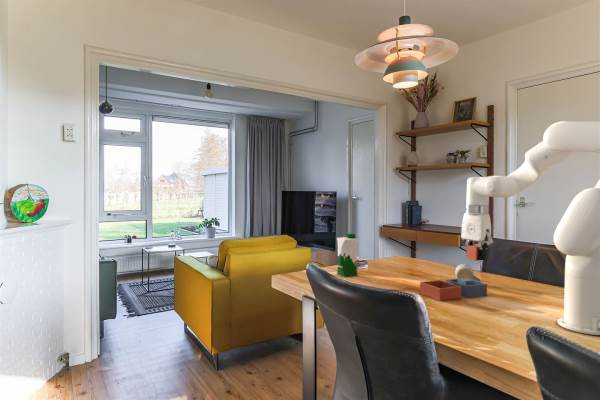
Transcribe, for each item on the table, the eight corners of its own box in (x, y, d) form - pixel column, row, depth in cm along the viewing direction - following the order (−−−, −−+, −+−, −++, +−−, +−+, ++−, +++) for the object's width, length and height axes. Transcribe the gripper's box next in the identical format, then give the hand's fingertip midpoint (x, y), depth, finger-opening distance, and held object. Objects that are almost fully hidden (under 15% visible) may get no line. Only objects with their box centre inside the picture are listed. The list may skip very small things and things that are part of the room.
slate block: (474, 292, 145) (474, 280, 145) (465, 293, 144) (465, 280, 144) (465, 289, 149) (465, 277, 149) (457, 290, 148) (457, 278, 148)
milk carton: (359, 275, 176) (360, 234, 176) (343, 277, 172) (344, 235, 172) (349, 272, 184) (350, 232, 184) (334, 273, 180) (334, 233, 180)
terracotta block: (485, 260, 135) (485, 246, 135) (475, 260, 133) (476, 247, 133) (475, 257, 139) (476, 244, 139) (466, 258, 137) (467, 245, 137)
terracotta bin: (461, 298, 138) (461, 286, 138) (439, 300, 135) (440, 288, 135) (440, 291, 149) (440, 280, 149) (419, 293, 145) (420, 281, 145)
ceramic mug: (455, 283, 163) (456, 266, 162) (454, 279, 170) (455, 263, 170) (481, 286, 159) (482, 268, 159) (480, 282, 166) (480, 265, 166)
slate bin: (487, 295, 143) (487, 284, 143) (466, 297, 139) (467, 286, 139) (464, 288, 153) (465, 278, 153) (445, 290, 150) (445, 279, 150)
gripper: (452, 208, 142) (451, 255, 143) (488, 211, 126) (486, 263, 127) (467, 208, 145) (466, 254, 145) (504, 211, 129) (502, 262, 129)
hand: (475, 258), depth 136 cm, fingers closed on terracotta block, 4 cm apart
